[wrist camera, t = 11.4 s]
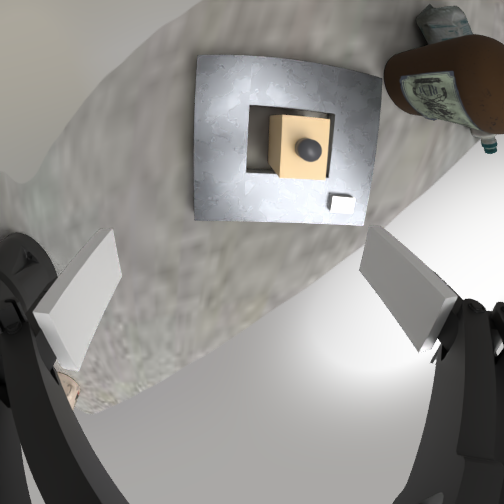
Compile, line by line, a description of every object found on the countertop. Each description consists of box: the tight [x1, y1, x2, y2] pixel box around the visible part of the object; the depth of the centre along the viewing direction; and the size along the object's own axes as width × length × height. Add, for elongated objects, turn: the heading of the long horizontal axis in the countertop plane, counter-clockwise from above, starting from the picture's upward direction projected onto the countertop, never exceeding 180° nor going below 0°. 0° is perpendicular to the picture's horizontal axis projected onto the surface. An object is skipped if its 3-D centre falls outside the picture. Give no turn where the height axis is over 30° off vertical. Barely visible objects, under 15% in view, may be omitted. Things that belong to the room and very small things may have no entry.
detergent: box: [416, 4, 497, 154], centre depth 24 cm, size 13×7×25 cm
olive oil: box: [384, 34, 504, 134], centre depth 17 cm, size 11×11×25 cm
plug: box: [268, 115, 330, 180], centre depth 27 cm, size 4×6×11 cm
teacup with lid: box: [57, 372, 80, 410], centre depth 47 cm, size 12×9×12 cm
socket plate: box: [194, 55, 382, 226], centre depth 30 cm, size 22×20×4 cm
